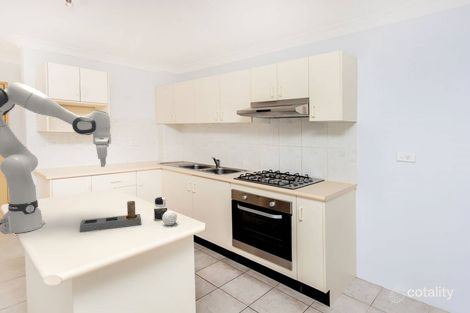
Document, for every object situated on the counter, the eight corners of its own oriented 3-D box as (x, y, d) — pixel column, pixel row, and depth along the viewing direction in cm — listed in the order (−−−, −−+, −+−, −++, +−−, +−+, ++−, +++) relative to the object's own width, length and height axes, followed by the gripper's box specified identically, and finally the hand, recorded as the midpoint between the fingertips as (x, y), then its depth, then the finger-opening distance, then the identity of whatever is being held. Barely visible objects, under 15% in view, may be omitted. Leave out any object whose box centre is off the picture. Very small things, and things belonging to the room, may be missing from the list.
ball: (169, 228, 156) (172, 214, 160) (178, 226, 151) (181, 211, 155) (157, 224, 152) (161, 209, 156) (166, 221, 147) (169, 207, 151)
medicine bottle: (154, 220, 160) (153, 199, 159) (154, 216, 167) (153, 196, 166) (167, 219, 162) (166, 198, 161) (166, 215, 169) (166, 196, 168)
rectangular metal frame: (80, 232, 142) (79, 224, 142) (82, 226, 151) (81, 219, 150) (141, 224, 153) (140, 218, 153) (140, 220, 161) (139, 213, 161)
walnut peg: (126, 223, 155) (125, 202, 154) (132, 221, 158) (131, 200, 157) (131, 225, 153) (130, 203, 152) (137, 222, 156) (136, 201, 155)
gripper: (97, 140, 164) (98, 163, 166) (94, 141, 145) (95, 168, 147) (109, 139, 167) (110, 163, 168) (107, 141, 148) (109, 167, 149)
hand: (103, 165), depth 157 cm, fingers open, 8 cm apart
